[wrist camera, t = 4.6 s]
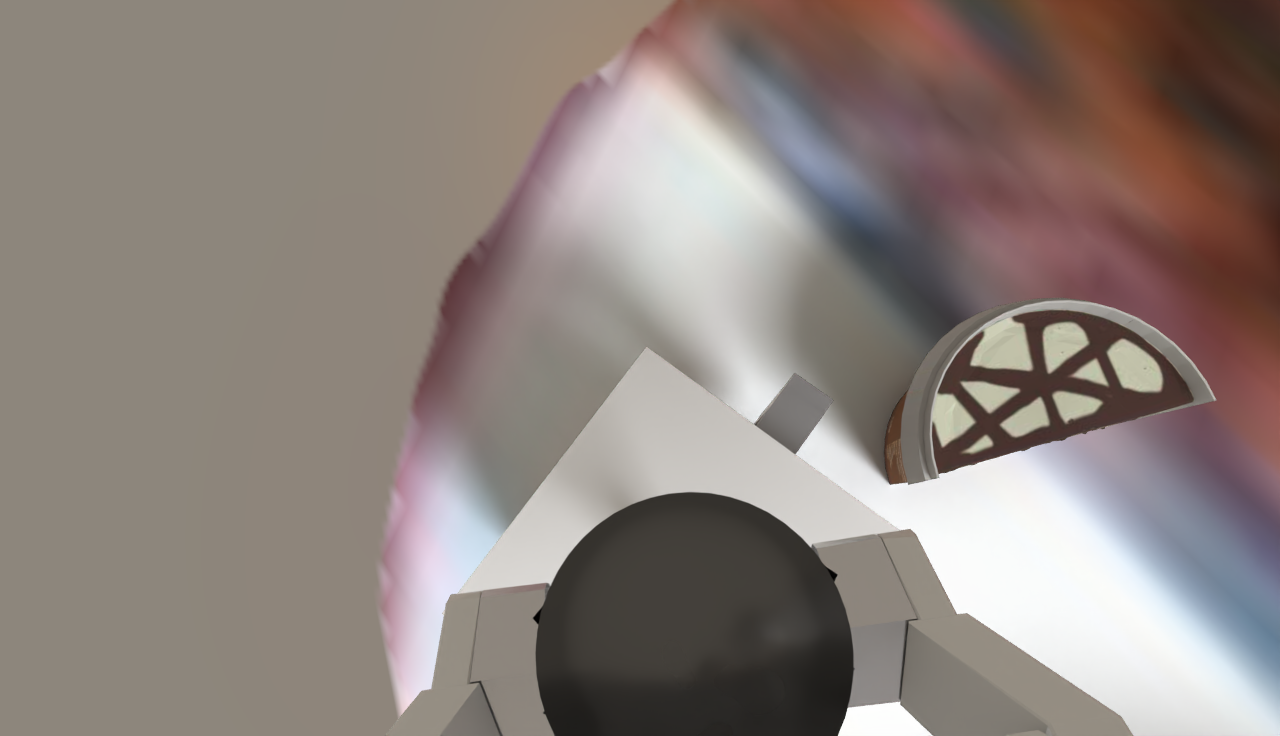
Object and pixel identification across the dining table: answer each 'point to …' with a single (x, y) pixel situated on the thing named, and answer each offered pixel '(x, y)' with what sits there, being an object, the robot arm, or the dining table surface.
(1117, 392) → the food container
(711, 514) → the plunger
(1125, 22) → the dining table surface
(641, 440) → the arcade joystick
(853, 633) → the robot arm
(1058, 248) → the dining table surface
